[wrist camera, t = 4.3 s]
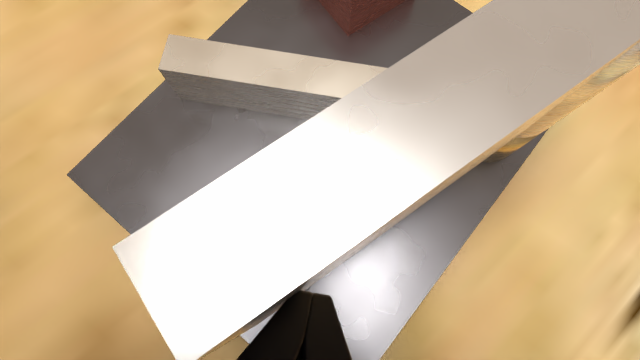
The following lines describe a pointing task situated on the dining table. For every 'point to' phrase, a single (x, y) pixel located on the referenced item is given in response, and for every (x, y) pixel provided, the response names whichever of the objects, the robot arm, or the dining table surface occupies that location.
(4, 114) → the dining table surface
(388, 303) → the base
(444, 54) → the swing bar
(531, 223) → the dining table surface
